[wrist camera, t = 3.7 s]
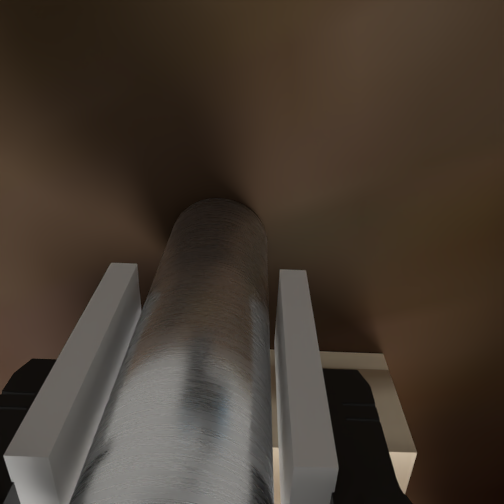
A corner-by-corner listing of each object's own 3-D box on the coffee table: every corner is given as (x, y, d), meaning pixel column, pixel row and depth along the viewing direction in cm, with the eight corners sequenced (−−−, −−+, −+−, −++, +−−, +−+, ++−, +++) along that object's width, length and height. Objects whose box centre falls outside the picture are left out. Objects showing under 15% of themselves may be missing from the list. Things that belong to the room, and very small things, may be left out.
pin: (169, 196, 17) (21, 521, 7) (269, 200, 17) (284, 531, 7) (173, 281, 19) (61, 648, 8) (264, 285, 19) (270, 656, 8)
